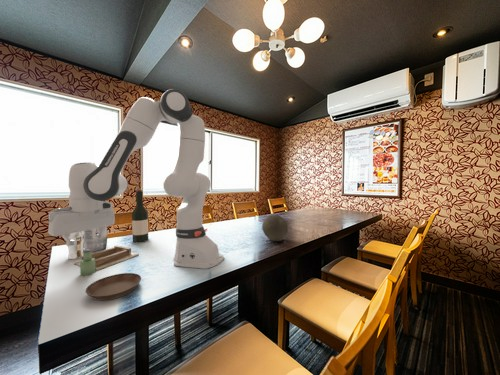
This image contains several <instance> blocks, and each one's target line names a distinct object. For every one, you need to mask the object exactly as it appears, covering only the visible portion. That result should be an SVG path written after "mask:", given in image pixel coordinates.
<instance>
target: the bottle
mask: <svg viewBox="0 0 500 375" xmlns="http://www.w3.org/2000/svg"><path fill="white" fill-rule="evenodd" d="M92 254H93V252H92V251H91V249H88V250H85V249H84V251H83V260H82V259H81V260H80V266H79V269H80V270H79V273H80V276H81V277H87V276H91V275H93V274H95V273H96V272H97V271H95V258H92Z"/></svg>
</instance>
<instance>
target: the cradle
mask: <svg viewBox="0 0 500 375" xmlns="http://www.w3.org/2000/svg"><path fill="white" fill-rule="evenodd" d="M139 255H140V253H135V252H132V247H131V248H130V247H126V246H122V245H114V246H113V247H111V248H106V249H103V250H99V251H95V252H94V253H93V252H92V258H95V271H96V272H98V271H100V270H103V269H106V268H109V267H112V266H114V265H117V264H119V263H122V262H125V261H126V260H127V261H128V260H130V259H132V258H135V257H138V256H139ZM82 260H83V257H82V258H81V260H80V261H82ZM80 261H77V262H74V263H73V264H74V265H76V266H78V267H80Z"/></svg>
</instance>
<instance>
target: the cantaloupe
mask: <svg viewBox="0 0 500 375" xmlns="http://www.w3.org/2000/svg"><path fill="white" fill-rule="evenodd" d="M261 224H262V226H261V228H262V232H263V234H264V235H265V237H266V238H268V239H269V240H270V241H272V242H281V241H283V240H284V239H285V238H286V237H287V235H288V232H289V230H288V223H287V222H286V220H285V219H284V218H283V217H282V216H280V215H277V214H274V215H269V216H267V217H266V218H265V219H264V220H263V222H262V223H261Z"/></svg>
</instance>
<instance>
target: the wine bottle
mask: <svg viewBox="0 0 500 375" xmlns="http://www.w3.org/2000/svg"><path fill="white" fill-rule="evenodd" d="M135 194H136V196H135V197H136V205H135V208H134V209H133V211H132V213H131V223H132V224H131V226H132V227H131V228H132V243H136V242H137V243H143V242H144V243H145V242H147V241H148V240H149V215H148V214H149V213H148V210H147V209H146V207H145V206H144V196H143V195H144V193H143V190H142V189H137V190H136V192H135Z"/></svg>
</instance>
